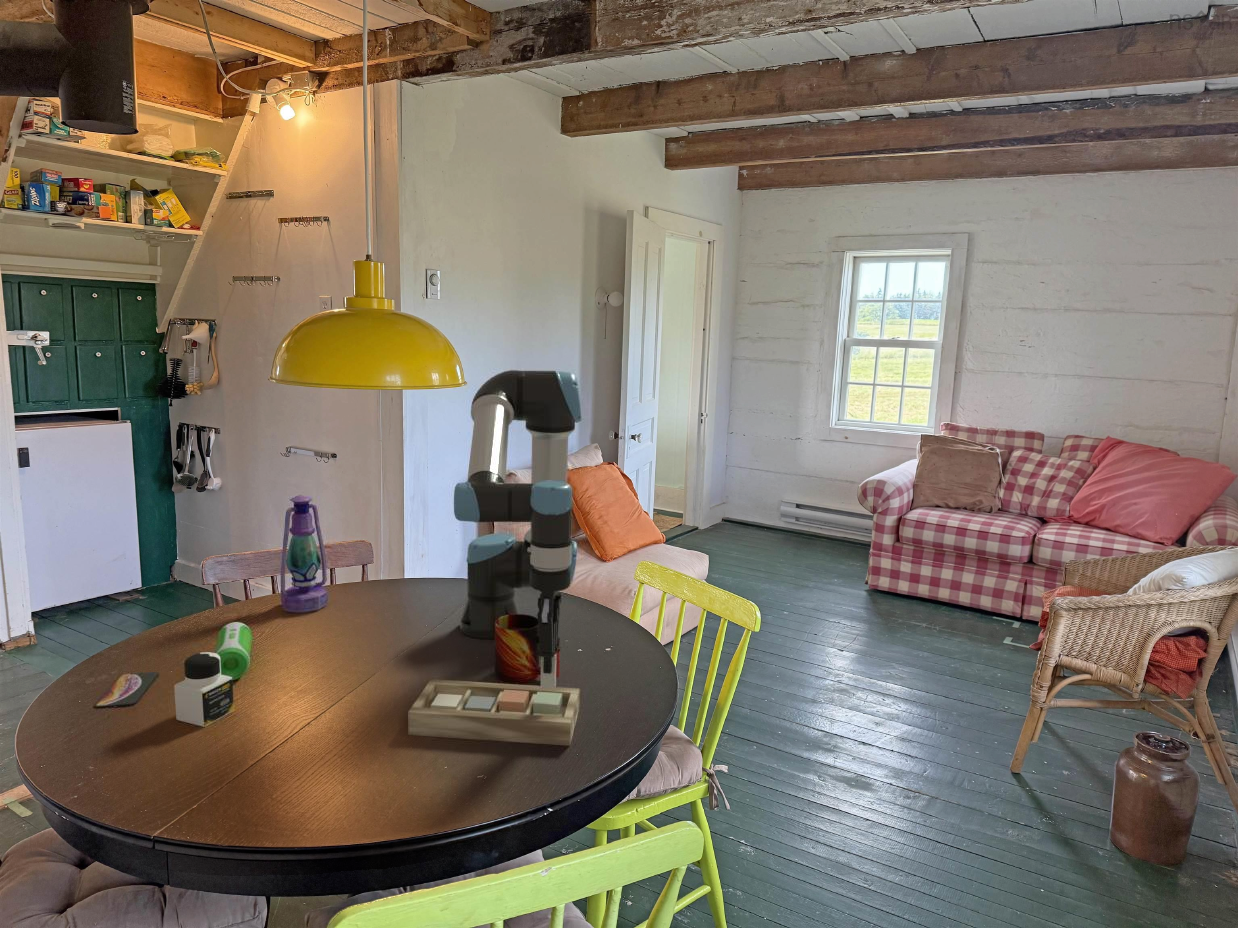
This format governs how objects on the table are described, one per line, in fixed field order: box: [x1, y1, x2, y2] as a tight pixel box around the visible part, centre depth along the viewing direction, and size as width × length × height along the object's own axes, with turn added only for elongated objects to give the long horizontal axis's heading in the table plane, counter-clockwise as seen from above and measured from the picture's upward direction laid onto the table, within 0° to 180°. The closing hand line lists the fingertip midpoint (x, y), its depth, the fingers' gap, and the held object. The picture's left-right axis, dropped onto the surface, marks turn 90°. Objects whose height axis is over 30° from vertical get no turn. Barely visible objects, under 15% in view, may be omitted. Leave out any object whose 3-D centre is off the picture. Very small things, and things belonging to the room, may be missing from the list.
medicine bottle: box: [174, 651, 235, 728], centre depth 153 cm, size 7×7×12 cm
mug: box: [494, 613, 561, 685], centre depth 176 cm, size 10×14×12 cm
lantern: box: [280, 494, 329, 614], centre depth 210 cm, size 13×12×30 cm
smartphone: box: [93, 671, 160, 709], centre depth 163 cm, size 8×1×15 cm
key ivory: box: [431, 694, 463, 710], centre depth 156 cm, size 5×5×2 cm
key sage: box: [533, 692, 562, 715], centre depth 154 cm, size 5×5×2 cm
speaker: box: [214, 621, 253, 681], centre depth 175 cm, size 18×7×8 cm, turn 22°
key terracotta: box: [499, 690, 529, 713], centre depth 154 cm, size 5×5×2 cm
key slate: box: [465, 696, 496, 712], centre depth 155 cm, size 5×5×2 cm
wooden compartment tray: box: [407, 678, 581, 747], centre depth 155 cm, size 14×30×4 cm, turn 86°
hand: (548, 686), depth 153 cm, fingers closed
